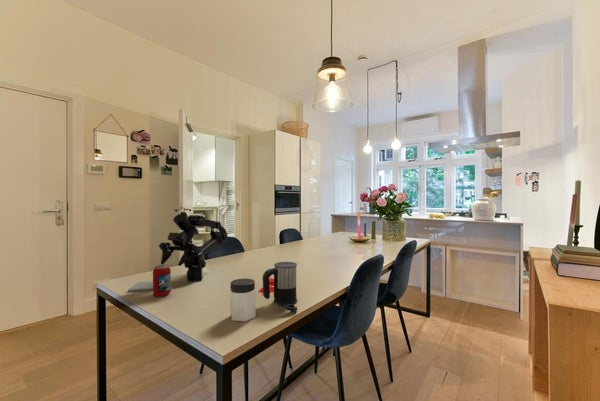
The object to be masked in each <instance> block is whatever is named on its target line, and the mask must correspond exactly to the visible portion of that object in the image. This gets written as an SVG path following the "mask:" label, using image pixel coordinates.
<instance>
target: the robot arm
mask: <svg viewBox="0 0 600 401" xmlns="http://www.w3.org/2000/svg"><path fill="white" fill-rule="evenodd" d="M173 222H174V224H175V226H177V227H178V229H179V230H180V232H169V233H168V235H167V240H168V241H171V243H172V244H173V245H172V244H171V243H170V242H166V241H165V242H160V243H159V245H158V248H159V249H160V250H161V252H162V253H161V260H160V265H165V263H166V262H167V261H168V260H169V259H170V257H171V256H172V254H173V253H174V251H178V252H183V254H182V255H181V258H180V260H179V261H178V264H177V265H178V266H179V267H181V266H182V265H184V268H185V269H187V270H186V275H187V276H186V280H187V282H189V283H190V282H201V281H202V280H203V278H204V276H203V269H204V268H206V264H207V262H206V261H205V259H204V257H206V255H207V254H208V253H209V252H211V250H212V249H214V248H215V247H216V246H217V245H220V244H223V243H225V242H227V239H228V238H229V237H228V232H227V230H226V229H225V227H224V226H223V225H222V223H221V222H220V221H215V220H211V219H207V218H206V217H205V216H204V215H201V214H190V215H188V214H187V212H186V211H181V212H180V213H178V214H177V215H175V216H174V217H173ZM197 227H199V228H201V227H206V228H210V231H209V234H210V238H209V239H208V240H207V241H206V242H205V243H203V244H202V245H201V246H199V247H198V245H197V244H196V243H193V242H194V241H193V239H194V238H195V235H199V230H198V228H197ZM215 229H217V230H216V231H215Z"/></svg>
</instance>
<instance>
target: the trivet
mask: <svg viewBox="0 0 600 401" xmlns="http://www.w3.org/2000/svg"><path fill="white" fill-rule="evenodd" d="M150 291H151V292H153V280H151V281H139V282H136V283H135V284H134V285H132V286H131V287H130V288H129V289H128V293H135V292H150Z"/></svg>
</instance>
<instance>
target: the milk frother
mask: <svg viewBox="0 0 600 401" xmlns="http://www.w3.org/2000/svg"><path fill="white" fill-rule="evenodd" d="M297 265H298V264H297V262H294V261H278V262H274V263H273V266H274V268H268V269H267V270H266V271H264V273H263V274H262V287H263V293H262V294H264V295H263V298H264V299H266V300H269V299H270V297H271V293H270V289H269V279H270V278H271V276H273V279H274V292H273V303H274V304H276V306H277V307H281V308H283V309H285V310H287V311H290V312H291V313H294V311H298V306H295V304H296V303H297V302H298V298H297V267H298V266H297ZM294 303H295V304H294Z"/></svg>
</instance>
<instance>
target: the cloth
mask: <svg viewBox="0 0 600 401" xmlns="http://www.w3.org/2000/svg"><path fill="white" fill-rule="evenodd" d="M270 286H271V287H270ZM272 286H274V278H272V277H270V278H269V289H270V294H271V292H272V293H274V287H272ZM259 292H261V293H260V294H263V286H262V287H261V288H260V289H259V290H258V293H259ZM262 296H264V294H263V295H262Z"/></svg>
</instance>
